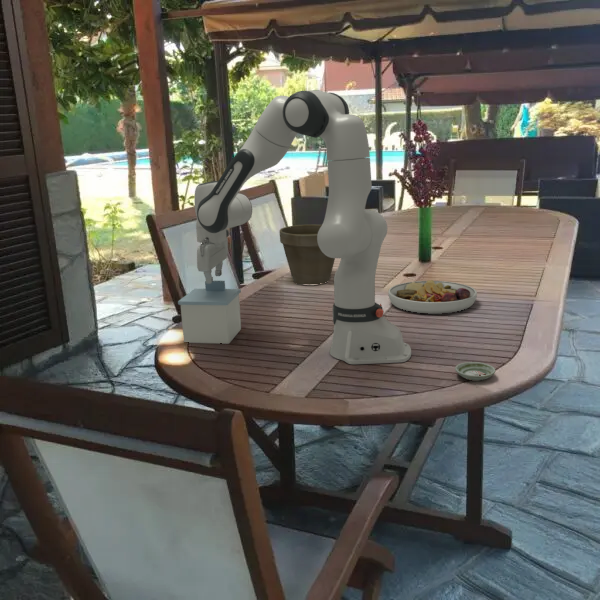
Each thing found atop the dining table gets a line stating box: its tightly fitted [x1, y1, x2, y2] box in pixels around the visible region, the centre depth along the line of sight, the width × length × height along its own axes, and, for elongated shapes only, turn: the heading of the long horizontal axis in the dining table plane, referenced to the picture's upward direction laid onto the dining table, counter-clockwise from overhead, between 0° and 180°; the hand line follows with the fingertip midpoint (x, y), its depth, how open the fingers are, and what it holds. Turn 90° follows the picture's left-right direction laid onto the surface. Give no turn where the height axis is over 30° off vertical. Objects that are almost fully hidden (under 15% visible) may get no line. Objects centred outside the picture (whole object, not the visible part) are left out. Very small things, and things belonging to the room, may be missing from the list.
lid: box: [177, 280, 241, 306], centre depth 194 cm, size 15×15×5 cm
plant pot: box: [279, 224, 336, 285], centre depth 258 cm, size 25×25×22 cm
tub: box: [180, 293, 242, 345], centre depth 196 cm, size 14×14×12 cm
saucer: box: [454, 361, 496, 381], centre depth 159 cm, size 10×10×2 cm
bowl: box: [387, 279, 478, 315], centre depth 222 cm, size 30×30×8 cm
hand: (214, 279), depth 199 cm, fingers open, 8 cm apart
